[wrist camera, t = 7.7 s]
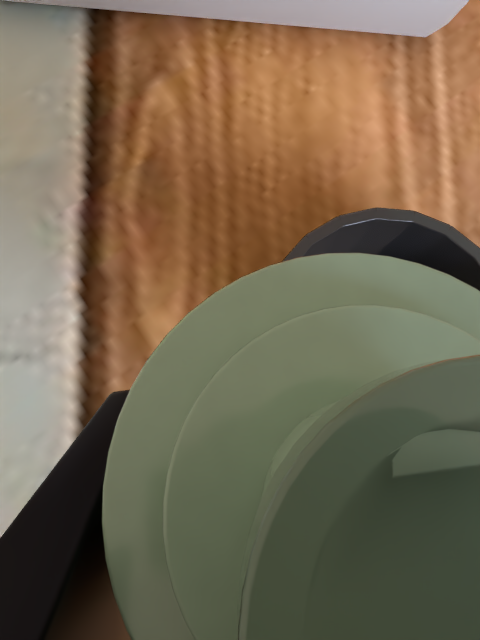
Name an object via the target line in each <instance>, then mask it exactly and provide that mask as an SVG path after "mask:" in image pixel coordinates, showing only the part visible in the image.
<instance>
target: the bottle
mask: <svg viewBox="0 0 480 640" xmlns="http://www.w3.org/2000/svg"><path fill="white" fill-rule="evenodd" d="M102 530H103V541H104V551H105V559H106V564H107V568H108V573H109V577H110V581H111V586H112V590H113V594H114V597H115V600H116V603H117V605H118V608H119V611H120V614H121V616H122V619H123V622H124V625H125V627H126V630H127V632H128V634H129V636H130V638H131V640H480V291H479V290H477V289H476V288H474V287H472V286H470V285H468V284H466V283H464V282H462V281H460V280H458V279H456V278H454V277H453V276H451V275H449V274H446V273H443V272H441V271H438V270H435V269H433V268H430V267H427V266H425V265H422V264H419V263H415V262H411V261H407V260H403V259H398V258H394V257H390V256H383V255H374V254H365V253H326V254H319V255H312V256H305V257H298V258H294V259H291V260H287V261H284V262H280V263H276V264H273V265H269V266H267V267H264V268H262V269H260V270H257V271H255V272H252V273H250V274H248V275H245V276H243V277H241V278H239V279H237V280H235V281H234V282H232V283H230V284H229V285H227V286H225V287H223V288H222V289H220V290H218V291H217V292H215V293H213V294H212V295H211V296H209V297H208V298H207V299H206V300H204V301H203V302H202V303H200V304H199V305H198V306H197V307H195V308H194V309H193V310H191V311H190V312H189V313H188V314H187V315H186V316H185V317H184V318H183V319H182V320H181V321H180V322H179V323H178V324H177V325H176V326H175V327H174V328H173V329H172V330H171V331H170V332H169V333H168V334H167V335H166V336H165V338H164V339H163V340H162V341H161V343H160V344H159V345H158V347H157V348H156V349H155V351H154V352H153V353H152V354H151V356H150V357H149V358H148V360H147V361H146V363H145V365H144V366H143V368H142V370H141V371H140V373H139V375H138V377H137V378H136V380H135V382H134V383H133V385H132V387H131V389H130V391H129V393H128V396H127V398H126V400H125V403H124V405H123V407H122V410H121V412H120V414H119V417H118V419H117V422H116V426H115V429H114V433H113V436H112V440H111V443H110V447H109V450H108V455H107V462H106V468H105V475H104V481H103V493H102Z"/></svg>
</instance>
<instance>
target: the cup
mask: <svg viewBox="0 0 480 640" xmlns="http://www.w3.org/2000/svg"><path fill="white" fill-rule="evenodd" d="M326 253H365V254H374V255H383V256H390V257H394V258H398V259H403V260H407V261H411V262H415V263H419V264H422V265H425V266H427V267H430V268H433V269H435V270H438V271H441V272H443V273H446V274H449V275H451V276H453V277H454V278H456V279H458V280H460V281H462V282H464V283H466V284H468V285H470V286H472V287H474V288H476V289H477V290H479V291H480V248H479V247H478V246H477V245H475V244H474V243H473V242H472V241H470V240H469V239H468V238H466V237H465V236H464V235H463V234H461V233H460V232H459V231H458V230H456V229H455V228H454V227H453V226H450V225H449V224H446V223H444V222H441V221H439V220H436V219H434V218H431V217H429V216H426V215H424V214H421V213H419V212H416V211H411V210H399V209H388V208H371V209H367V210H362V211H358V212H353V213H349V214H344V215H340V216H338V217H335V218H333V219H332V220H330V221H328V222H327V223H325V224H323V225H322V226H320V227H318V228H316V229H315V230H313V231H311V232H310V233H308V234H306V236H304V237H303V238H302V239H301V240H300V241H299V243H298V244H297V245H296V246H295V247H294V248H293V249H292V251H291V252H290V253H289V254H288V255H287V256H286V257H285V259H284V260H283V261H282V262H284V261H287V260H291V259H294V258H298V257H305V256H312V255H319V254H326Z"/></svg>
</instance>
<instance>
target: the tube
mask: <svg viewBox="0 0 480 640" xmlns="http://www.w3.org/2000/svg"><path fill="white" fill-rule="evenodd" d="M2 1H14V2H25V3H37V4H48V5H60V6H71V7H83V8H94V9H106V10H118V11H129V12H141V13H152V14H164V15H175V16H187V17H198V18H210V19H221V20H233V21H244V22H256V23H268V24H279V25H291V26H302V27H314V28H325V29H337V30H348V31H360V32H371V33H383V34H395V35H406V36H418V37H427V36H429V35H430V34H432V33H434V32H435V31H437V30H438V29H440V28H442V27H443V26H445V25H447V24H448V23H449V22H450V21H451V20H452V18H453V17H454V16H455V15H456V14H457V13H458V12H459V11H460V10H461V9H462V8H463V7H464V6H465V5H466V3H467V2H468V1H469V0H2Z"/></svg>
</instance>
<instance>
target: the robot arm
mask: <svg viewBox="0 0 480 640" xmlns="http://www.w3.org/2000/svg"><path fill="white" fill-rule="evenodd" d="M129 391H130V390H125V391H117V392H113V393H111V394H110V395H109V396H108V398H107V399H106V400H105V402H104V403H103V404H102V405H101V407H100V408H99V409H98V411H97V412H96V413H95V415H94V416H93V417H92V419H91V420H90V421H89V423H88V424H87V425H86V426H85V428H84V429H83V430H82V432H81V433H80V434H79V436H78V437H77V438H76V440H75V441H74V442H73V444H72V445H71V446H70V447H69V449H68V450H67V451H66V453H65V454H64V455H63V457H62V458H61V459H60V461H59V462H58V463H57V464H56V466H55V467H54V468H53V470H52V471H51V472H50V474H49V475H48V476H47V478H46V479H45V480H44V482H43V483H42V484H41V485H40V487H39V488H38V489H37V491H36V492H35V493H34V495H33V496H32V497H31V499H30V500H29V501H28V503H27V504H26V505H25V506H24V508H23V509H22V510H21V512H20V513H19V514H18V516H17V517H16V518H15V520H14V521H13V522H12V524H11V525H10V526H9V527H8V529H7V530H6V531H5V533H4V534H3V535H2V537H1V538H0V640H131V638H130V636H129V634H128V632H127V630H126V627H125V625H124V622H123V619H122V616H121V614H120V611H119V608H118V605H117V603H116V600H115V597H114V594H113V590H112V586H111V581H110V577H109V573H108V568H107V564H106V559H105V551H104V541H103V530H102V493H103V481H104V475H105V468H106V462H107V455H108V450H109V447H110V443H111V440H112V436H113V433H114V429H115V426H116V422H117V419H118V417H119V414H120V412H121V410H122V407H123V405H124V403H125V400H126V398H127V396H128V393H129Z"/></svg>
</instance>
